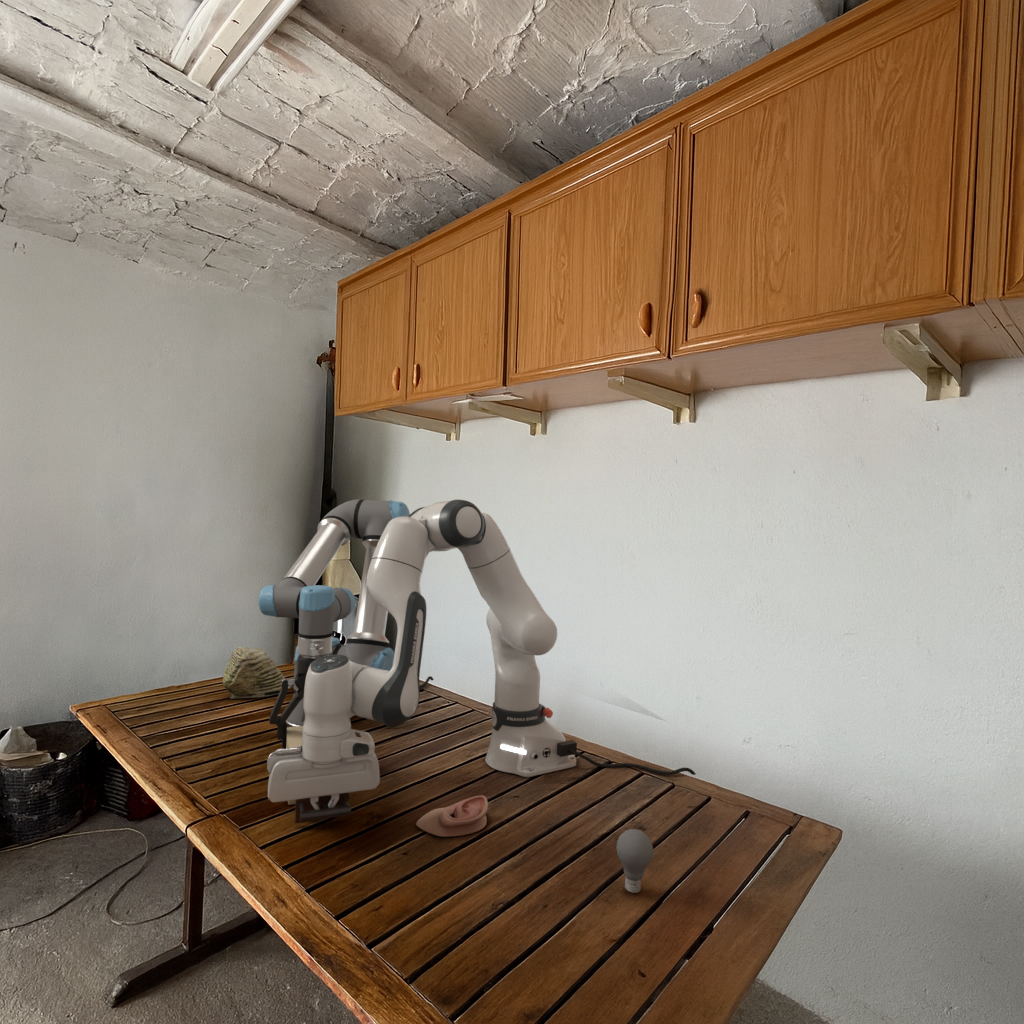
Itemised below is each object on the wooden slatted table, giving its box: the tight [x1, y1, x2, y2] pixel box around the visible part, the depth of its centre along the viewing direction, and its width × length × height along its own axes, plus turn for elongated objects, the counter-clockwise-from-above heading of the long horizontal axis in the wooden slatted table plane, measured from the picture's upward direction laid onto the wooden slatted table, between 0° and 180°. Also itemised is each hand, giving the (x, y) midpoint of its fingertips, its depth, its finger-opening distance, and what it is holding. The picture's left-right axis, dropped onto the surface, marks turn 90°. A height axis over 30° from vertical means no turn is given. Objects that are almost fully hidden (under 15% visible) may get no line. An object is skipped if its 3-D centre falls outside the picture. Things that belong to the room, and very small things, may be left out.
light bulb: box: [615, 828, 654, 894], centre depth 106 cm, size 6×6×10 cm
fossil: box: [222, 646, 286, 699], centre depth 198 cm, size 9×18×15 cm, turn 132°
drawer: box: [294, 792, 352, 824], centre depth 127 cm, size 21×10×8 cm, turn 23°
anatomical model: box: [415, 795, 489, 838], centre depth 125 cm, size 13×4×12 cm
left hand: (311, 750), depth 144 cm, fingers closed on cabinet, 11 cm apart
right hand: (323, 816), depth 119 cm, fingers closed, pressing on drawer
